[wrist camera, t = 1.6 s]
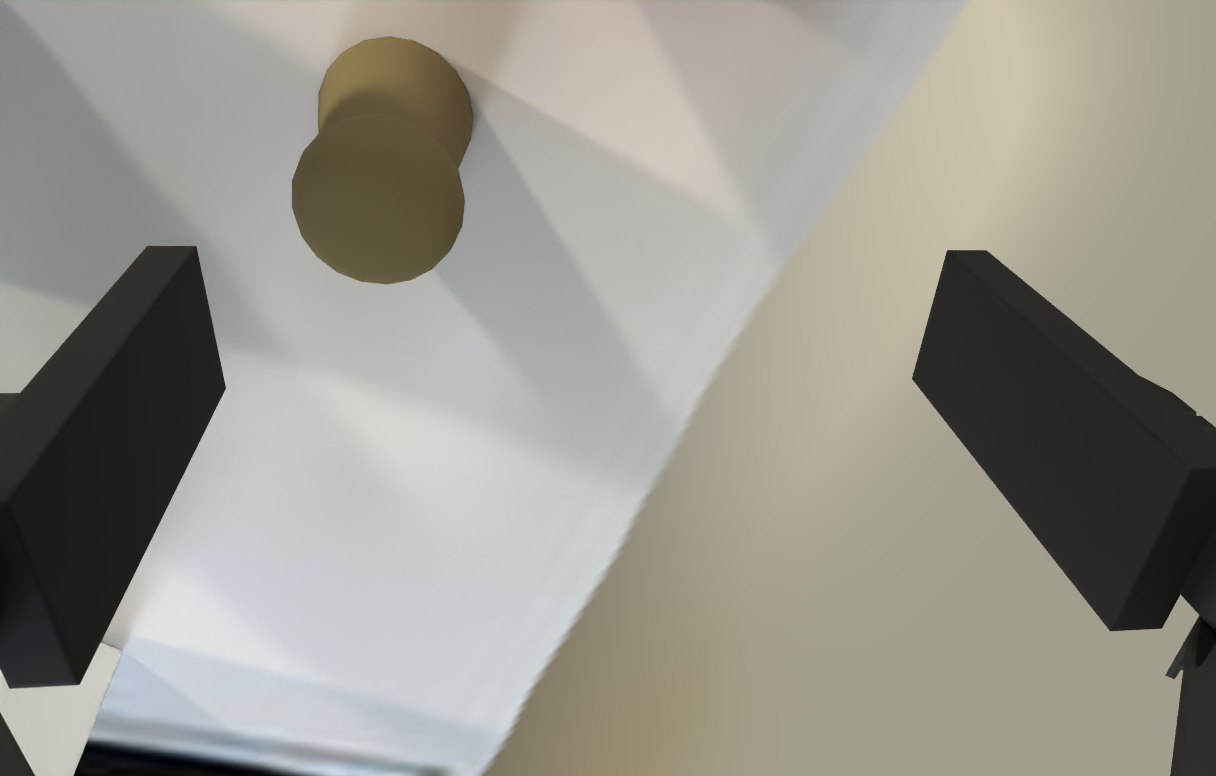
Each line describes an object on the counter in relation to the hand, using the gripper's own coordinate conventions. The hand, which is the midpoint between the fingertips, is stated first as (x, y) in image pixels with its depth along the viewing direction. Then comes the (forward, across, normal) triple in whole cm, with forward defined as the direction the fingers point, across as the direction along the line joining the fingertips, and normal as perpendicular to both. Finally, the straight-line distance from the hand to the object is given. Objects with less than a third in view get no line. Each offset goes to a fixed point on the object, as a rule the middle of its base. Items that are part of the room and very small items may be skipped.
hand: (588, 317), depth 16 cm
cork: (+22, -6, -2) cm, 23 cm away
